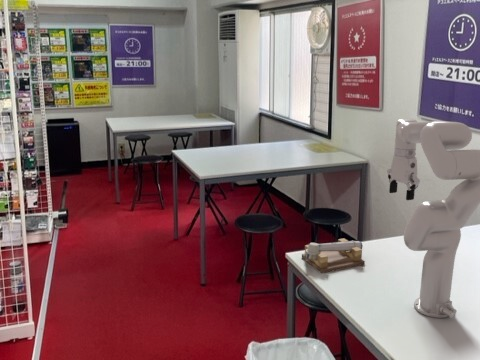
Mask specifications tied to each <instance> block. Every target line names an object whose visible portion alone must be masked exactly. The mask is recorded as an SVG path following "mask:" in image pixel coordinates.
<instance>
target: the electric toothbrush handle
mask: <svg viewBox="0 0 480 360" xmlns="http://www.w3.org/2000/svg"><path fill="white" fill-rule="evenodd" d="M308 245H309V246H308V249H306V250H305V249H304V253H305V252H306V256H305V257H306V258H308V259H310V258H312V259H317V255H318V254H320V253H321V251H351V249H352V248H355V247H359V248H360V249H362V250H363V247H364V246H363V243H362V241H360V240H348V242H338V241H337V242H326V243H316V242H310V243H308Z"/></svg>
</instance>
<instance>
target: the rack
mask: <svg viewBox="0 0 480 360" xmlns="http://www.w3.org/2000/svg"><path fill="white" fill-rule="evenodd" d="M348 241H349V240H348V239H346V238H339V239H337V242H348ZM308 246H309V244H306V245H304V253H302V254H301V258H302V259H303V260H304V261H305V262H307V263H308V264H309V265H310V266H311V267H313V268H314V269H316V270H317V271H318V272H320V273H321V274H326V273H330V272H335V271H339V270H344V269H349V268H350V269H351V268H353V267H354V268H355V267H359V266H360V267H361V266H363V265H365V262H366V261H365V260H364V259H363V256H362V255H363V248H362V249H360V248H359V247H355V248H352V249H351V251H321V253H320V254H318V255H317V259H312V258H310V259H308V258H306V257H305V256H306V252H305V250H306V249H308Z"/></svg>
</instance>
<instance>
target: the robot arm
mask: <svg viewBox="0 0 480 360" xmlns="http://www.w3.org/2000/svg"><path fill="white" fill-rule="evenodd" d="M395 127H396V128H395V138H394V154H393V156H392V159H391V165H390V168H389V169H387V170H386V172H387V178H388V183H389V188H388V189H389V190H388V192H389V193H390V194H395V193H397V192H398V183H401V184H403V185H406V188H407V189H406V193H405V194H406V196H405V200H406V201H412V200H414V199H415V191H416V190H417V189H418V187H419V185H420V182H421V180H420V178H418V159H417V157H416V154H417V153H416V152H417V151H416V149H417V144H420V145H421V148H422V151H423V153H424V155H425V157H426V159H427V161H428V163H429V165H430V168H431V170H432V173H434V175H435V176H436V177H437V178H438V179H439V180H442V181H443V180H444V181H453V180H463V181H461V182H459V183H458V184H457V185H456V186H454V187H453V189H452V190H451V191H450V192H449V195H448V196H447V197H446V198H444V199H440V200H426V201H423V202H420V203H419V204H418V205H417V206H416V207H415V209H414V211H413V212H412V215H411V216H410V218H409V219H408V221H407V223H406V225H405V228H404V232H403V242H404V244H405V246H406V247H407V248H408V249H409V250H411V251H414V252H423V251H426V252H425V255H424V256H423V260H422V270H421V271H422V272H421V281H420V288H419V289H420V290H419V297H418V298H416V299H415V300H414V301H413V303H414V304H413V308H414V309H415V310H416V311H418V313H420V314H422V315H424V316H427V317H429V318H436V319H437V318H438V319H443V318H448V317H449V318H451V319H452V318H453V317H454V316H455V314H456V313H457V311H458V310H457V309H456V308H454V306H453V301H451V293H452V283H453V275H454V269H455V268H454V267H455V262H456V261H455V260H456V255H457V250H458V249H459V248H458V247H459V245H460V242H461V239H462V233H461V229H462V228H464V227H465V226H466V225H467V224H468V222H469V221H470V219H471V218H472V216H473V215H474V214H475V212H476V211H477V209H478V207H479V205H480V149H463V148H466V147H467V146H468V145H469V144H470V143H471V141H472V138H473V133H472V130H471V129H470V127H469V126H468V125H466V124H465V123H462V122H458V121H439V120H438V121H437V120H436V121H417V120H416V119H413V118H400V119H398V120H397V121H396V125H395Z"/></svg>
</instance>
